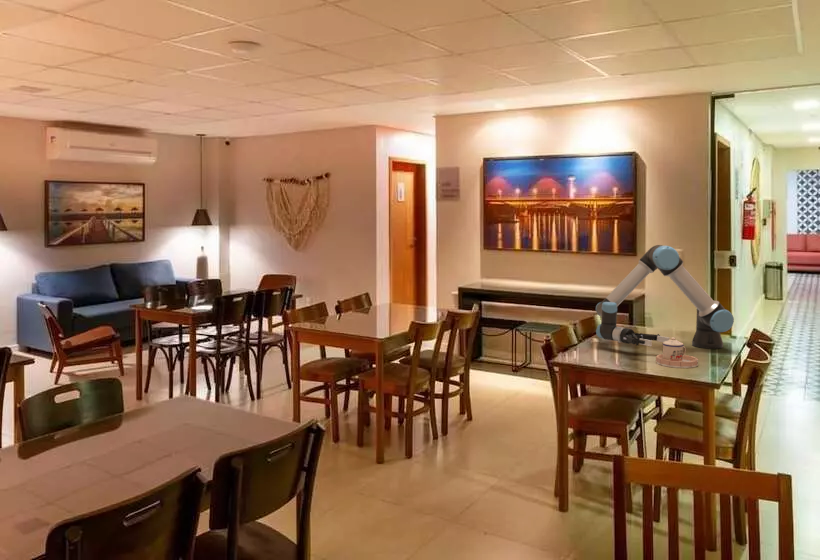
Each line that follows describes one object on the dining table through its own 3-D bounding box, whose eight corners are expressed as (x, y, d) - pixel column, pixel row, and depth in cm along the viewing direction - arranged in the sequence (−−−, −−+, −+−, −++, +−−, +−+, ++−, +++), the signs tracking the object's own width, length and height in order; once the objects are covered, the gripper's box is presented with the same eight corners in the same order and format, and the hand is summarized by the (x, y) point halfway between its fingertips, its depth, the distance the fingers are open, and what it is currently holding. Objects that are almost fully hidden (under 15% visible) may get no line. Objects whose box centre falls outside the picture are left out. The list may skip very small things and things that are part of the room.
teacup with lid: (671, 365, 307) (672, 340, 306) (657, 361, 315) (658, 336, 314) (692, 363, 311) (693, 338, 310) (678, 359, 320) (679, 335, 318)
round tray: (671, 358, 326) (671, 352, 326) (705, 364, 311) (705, 359, 311) (648, 362, 316) (648, 356, 316) (682, 369, 301) (682, 363, 301)
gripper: (639, 340, 345) (675, 346, 328) (607, 345, 331) (643, 352, 314) (640, 325, 344) (676, 331, 327) (607, 330, 331) (644, 336, 313)
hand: (660, 341), depth 320 cm, fingers open, 13 cm apart
